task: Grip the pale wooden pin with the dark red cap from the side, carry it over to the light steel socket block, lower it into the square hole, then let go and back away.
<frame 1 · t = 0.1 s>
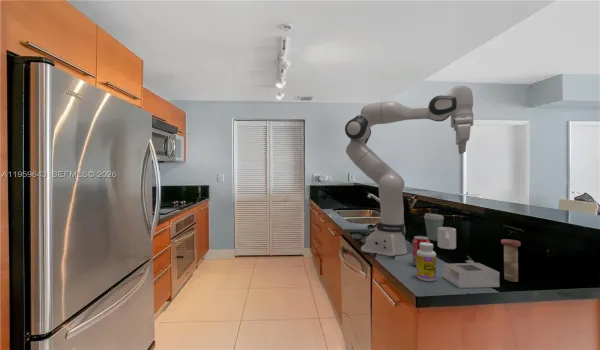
hand: (462, 153, 125), 48 cm above the table, tool pointing down, fingers open, 8 cm apart
wooden pin: (511, 279, 100), on the table
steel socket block: (469, 281, 98), on the table
supplement bottle: (426, 279, 102), on the table
mug: (447, 248, 144), on the table
soda can: (421, 266, 116), on the table
disposable coffee cup: (434, 239, 163), on the table
chef's knife: (470, 263, 120), on the table
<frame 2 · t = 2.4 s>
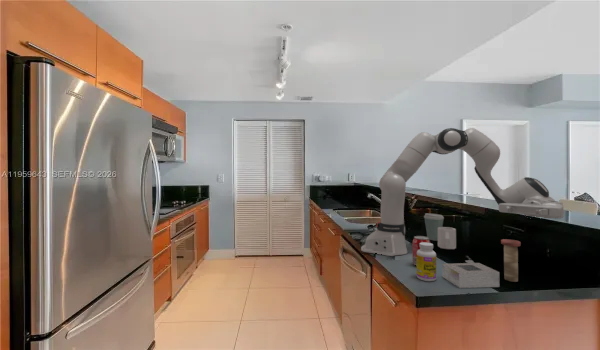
hand: (522, 211, 107), 24 cm above the table, tool horizontal, fingers open, 8 cm apart
nothing on the table moved.
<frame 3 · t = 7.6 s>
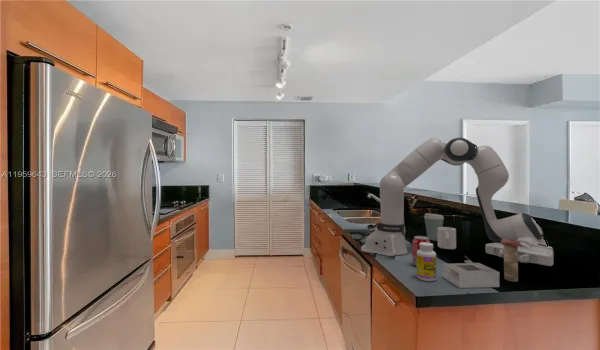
hand: (509, 256, 100), 8 cm above the table, tool horizontal, fingers closed on wooden pin, 4 cm apart
wooden pin: (511, 279, 100), on the table, touching gripper
everything else where it was.
when the fingers open (10 cm above the table, at t = 13.3 s): wooden pin stays where it is, resting on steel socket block.
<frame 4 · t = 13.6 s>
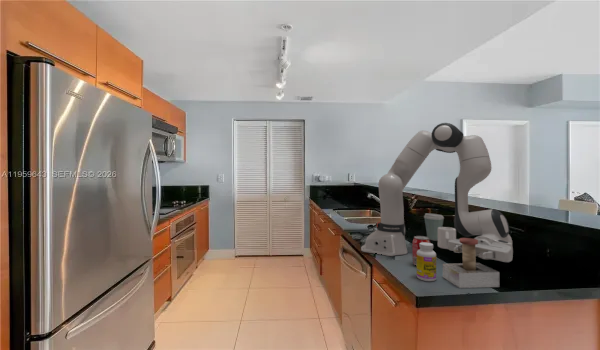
hand: (468, 253, 98), 10 cm above the table, tool horizontal, fingers open, 7 cm apart
wooden pin: (469, 278, 98), point 1 cm above the table, touching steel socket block
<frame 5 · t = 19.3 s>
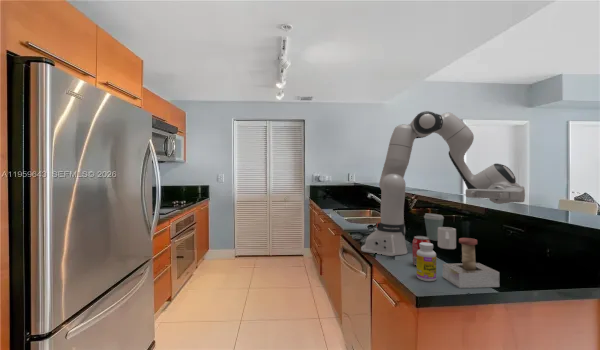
hand: (485, 194, 111), 30 cm above the table, tool horizontal, fingers open, 8 cm apart
at the end: wooden pin 0.0 cm off-centre on the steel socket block, point 1.0 cm above the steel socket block's base; wooden pin tilted 1°; the gripper is holding nothing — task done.
